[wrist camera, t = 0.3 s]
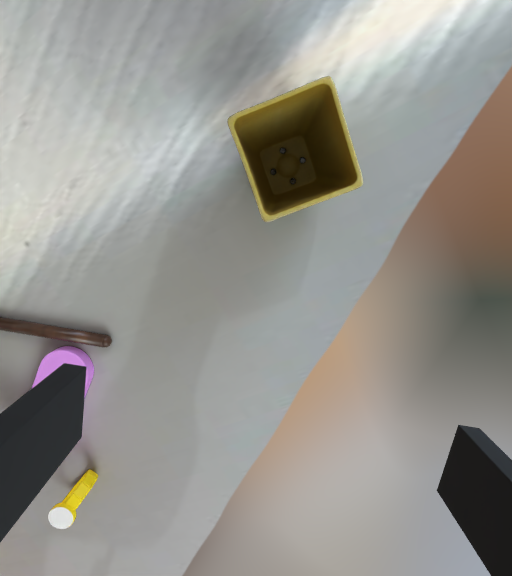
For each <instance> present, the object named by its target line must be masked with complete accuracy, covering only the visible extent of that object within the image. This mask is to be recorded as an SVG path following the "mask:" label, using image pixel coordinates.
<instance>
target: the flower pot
mask: <svg viewBox="0 0 512 576" xmlns="http://www.w3.org/2000/svg"><path fill="white" fill-rule="evenodd" d="M228 126H229V128H230V131H231V134H232V136H233V139H234V141H235V144H236V146H237V149H238V152H239V154H240V157H241V159H242V162H243V165H244V168H245V170H246V173H247V176H248V179H249V182H250V185H251V188H252V191H253V194H254V197H255V199H256V203H257V205H258V209H259V212H260V215H261V217H262V219H263V220H264V221H265V222H270V221H273V220H276V219H278V218H281V217H283V216H286V215H288V214H291V213H293V212H296V211H299V210H301V209H304V208H306V207H309V206H312V205H315V204H317V203H320V202H323V201H325V200H328V199H330V198H333V197H336V196H339V195H341V194H344V193H347V192H349V191H352V190H355V189H357V188H359V187H361V186H362V185H363V178H362V174H361V170H360V167H359V164H358V160H357V157H356V154H355V151H354V147H353V144H352V141H351V137H350V134H349V131H348V128H347V124H346V121H345V118H344V114H343V111H342V108H341V104H340V100H339V97H338V93H337V90H336V87H335V84H334V82H333V80H332V78H331V77H330V76H327V77H323V78H320V79H318V80H315V81H313V82H311V83H308V84H306V85H304V86H302V87H299V88H297V89H294V90H292V91H290V92H287V93H285V94H282V95H280V96H277V97H275V98H273V99H270V100H268V101H265V102H263V103H260V104H257V105H255V106H253V107H250V108H247V109H245V110H242V111H240V112H237V113H235V114H233V115H232V116H230V117H229V118H228ZM281 148H284V149H285V153H281V152H280V149H281ZM301 158H305V162H304V163H301V162H300V159H301ZM272 169H275V170H276V173H275V174H274V175H273V174H271V170H272ZM292 178H294V179H295V180H296V182H295V184H291V182H290V180H291V179H292Z"/></svg>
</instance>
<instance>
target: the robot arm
mask: <svg viewBox="0 0 512 576" xmlns="http://www.w3.org/2000/svg"><path fill="white" fill-rule="evenodd" d="M86 368H87V367H86V366H80V365H73V364H67V363H64V364H62V365H61V366H60V367H58V368H57V369H56V370H55V371H53V372H52V373H51V374H50V375H48V376H47V377H46V378H45V379H43V380H42V381H41V382H40V383H38V384H37V385H36V386H35V387H33V388H32V389H31V390H30V391H28V392H27V393H26V394H25V395H23V396H22V397H21V398H20V399H18V400H17V401H16V402H15V403H13V404H12V405H11V406H10V407H8V408H7V409H6V410H5V411H3V412H2V413H1V414H0V542H1V541H2V540H3V538H4V537H5V536H6V534H7V533H8V532H9V530H10V529H11V528H12V527H13V525H14V524H15V523H16V521H17V520H18V519H19V518H20V516H21V515H22V514H23V512H24V511H25V510H26V508H27V507H28V506H29V505H30V503H31V502H32V501H33V499H34V498H35V497H36V495H37V494H38V493H39V492H40V490H41V489H42V488H43V486H44V485H45V484H46V482H47V481H48V480H49V479H50V477H51V476H52V475H53V473H54V472H55V471H56V470H57V468H58V467H59V466H60V464H61V463H62V462H63V460H64V459H65V458H66V457H67V455H68V454H69V453H70V451H71V450H72V449H73V447H74V446H75V445H76V444H77V442H78V441H79V440H80V438H81V437H82V423H83V409H84V396H85V382H86ZM437 491H438V493H439V495H440V496H441V498H442V499H443V501H444V502H445V504H446V506H447V507H448V509H449V510H450V512H451V513H452V515H453V517H454V518H455V520H456V521H457V523H458V524H459V526H460V527H461V529H462V531H463V532H464V533H465V535H466V537H467V538H468V540H469V542H470V543H471V545H472V546H473V548H474V549H475V551H476V552H477V554H478V556H479V557H480V559H481V560H482V562H483V564H484V565H485V567H486V568H487V570H488V571H489V573H490V574H491V576H512V460H511V459H510V458H509V457H508V456H507V455H506V454H505V453H504V452H503V451H502V450H501V449H500V448H499V447H498V446H497V445H496V444H495V443H494V442H493V441H492V440H490V438H489V437H488V436H487V435H486V434H485V433H484V432H483V431H482V430H481V429H479V428H474V427H468V426H461V425H458V428H457V431H456V434H455V437H454V440H453V443H452V446H451V449H450V452H449V455H448V459H447V461H446V465H445V467H444V471H443V474H442V477H441V480H440V483H439V486H438V489H437Z"/></svg>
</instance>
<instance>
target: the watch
mask: <svg viewBox="0 0 512 576" xmlns="http://www.w3.org/2000/svg"><path fill="white" fill-rule="evenodd" d="M97 478H98V475H97V474H96V473H95V472H93V471H92V470H90V469H89V470H88V471H87V472H86V473H85V474H84V475H83V476H82V478H81V479H80V480H79V481H78V482H77V484H76V485H75V486H74V487H73V488H72V489H71V491H70V492H69V493H68V495H67V496H66V497H65V498H64V500H63V501H62V502H61V503H58V504H56V505H55V506H54V507H53V508H52V509H51V511H50V512H49V515H48V519H49V522H50V524H51V525H52V526H53V527H55V528H58V529H65V528H68V527H70V526H71V525H72V523H73V522H74V520H75V519H76V511H75V510H76V509H77V507H78V506H79V505H80V503H81V502H82V500H83V499H84V498H85V497H86V495H87V494H88V492H89V491H90V490H91V488H92V487H93V485H94V483H95V482H96V480H97Z"/></svg>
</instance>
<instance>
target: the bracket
mask: <svg viewBox="0 0 512 576" xmlns="http://www.w3.org/2000/svg"><path fill="white" fill-rule="evenodd" d="M64 363H67V364H73V365H80V366H86V367H87V368H86V382H85V396H86V393H87V391H88V388H89V386H90V383H91V380H92V378H93V374H94V367H93V363H92V361H91V359H90V358H89V356H88V355H87V354H86V353H85V352H84V351H82V350H81V349H79V348H76V347H72V346H63V347H59V348H57V349H55V350H54V351H52V352H51V353H49V354H48V355H46V356H45V357H44V358H43V360H42V361H41V364H40V366H39V369H38V372H37V375H36V378H35V381H34V383H33V386H32V388H33V387H35V386H36V385H37V384H38V383H40V382H41V381H42V380H43V379H45V378H46V377H47V376H48V375H50V374H51V373H52V372H53V371H55V370H56V369H57V368H58V367H60V366H61V365H62V364H64ZM85 396H84V398H85Z"/></svg>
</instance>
